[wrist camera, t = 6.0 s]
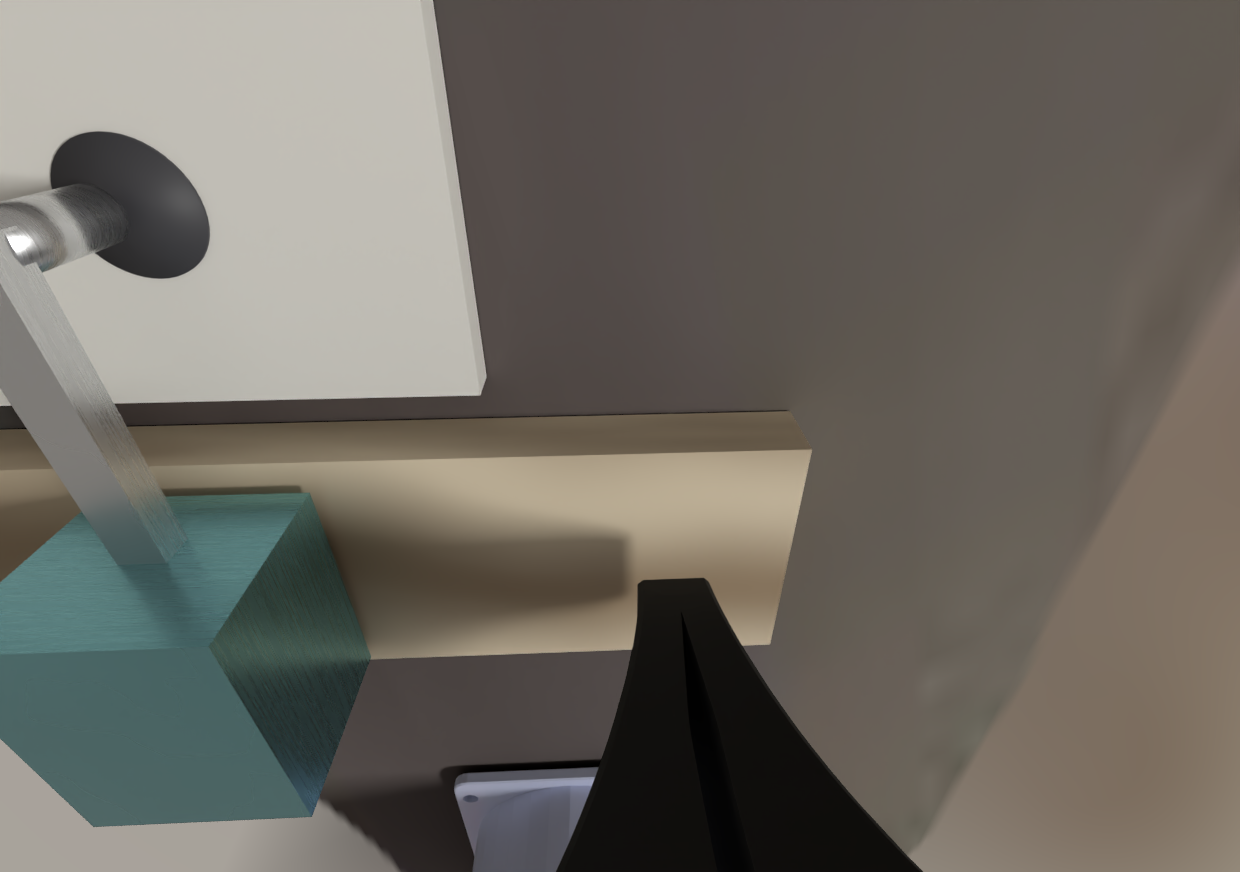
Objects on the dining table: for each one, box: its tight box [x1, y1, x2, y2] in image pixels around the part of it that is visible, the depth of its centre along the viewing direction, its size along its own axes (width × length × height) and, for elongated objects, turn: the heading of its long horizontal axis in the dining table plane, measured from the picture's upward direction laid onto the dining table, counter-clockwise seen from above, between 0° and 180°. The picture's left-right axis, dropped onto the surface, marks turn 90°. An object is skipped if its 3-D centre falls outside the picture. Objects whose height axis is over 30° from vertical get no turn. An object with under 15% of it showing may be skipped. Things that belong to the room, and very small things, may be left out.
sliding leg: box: [0, 183, 371, 827], centre depth 10 cm, size 10×4×4 cm, turn 0°
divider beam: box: [0, 411, 812, 659], centre depth 10 cm, size 11×24×5 cm, turn 90°
